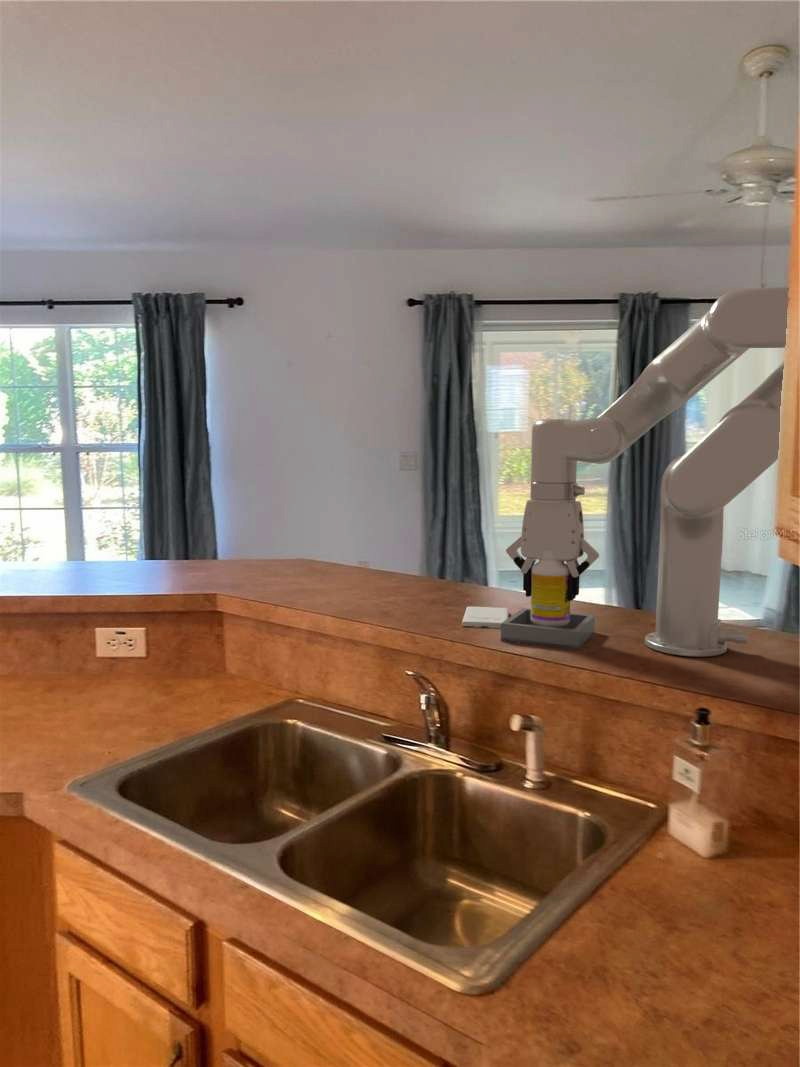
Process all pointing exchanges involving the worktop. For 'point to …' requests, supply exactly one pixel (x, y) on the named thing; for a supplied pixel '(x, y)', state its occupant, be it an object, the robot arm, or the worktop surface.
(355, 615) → the worktop surface
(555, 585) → the supplement bottle
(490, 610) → the external hard drive
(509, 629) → the tray
